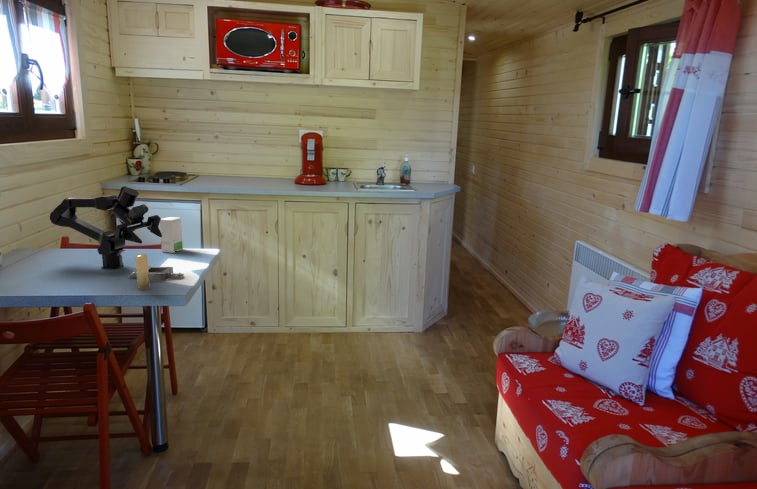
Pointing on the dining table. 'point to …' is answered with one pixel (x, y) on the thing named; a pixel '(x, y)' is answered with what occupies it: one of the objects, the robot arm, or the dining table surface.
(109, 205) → the robot arm
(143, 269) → the tan wooden block
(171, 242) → the skincare box
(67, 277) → the dining table surface
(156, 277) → the chain joint
